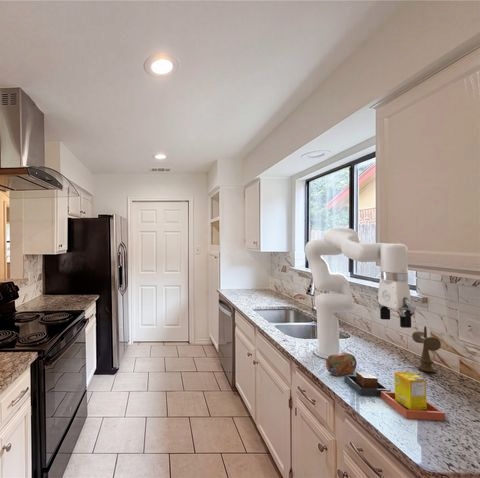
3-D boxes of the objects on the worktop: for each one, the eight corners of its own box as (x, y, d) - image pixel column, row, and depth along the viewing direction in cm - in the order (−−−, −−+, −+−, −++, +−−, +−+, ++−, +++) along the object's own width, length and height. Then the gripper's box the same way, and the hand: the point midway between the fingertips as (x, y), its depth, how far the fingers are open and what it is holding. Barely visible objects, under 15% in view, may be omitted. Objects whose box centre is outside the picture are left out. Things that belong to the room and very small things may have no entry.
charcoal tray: (344, 380, 111) (344, 374, 111) (371, 382, 110) (371, 376, 110) (360, 395, 100) (360, 388, 100) (391, 397, 99) (390, 390, 99)
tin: (331, 377, 114) (330, 357, 114) (324, 373, 117) (324, 354, 117) (357, 372, 118) (357, 353, 118) (350, 369, 121) (350, 350, 121)
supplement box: (410, 401, 96) (409, 371, 96) (427, 411, 90) (426, 379, 90) (394, 401, 95) (393, 371, 95) (410, 412, 89) (410, 380, 89)
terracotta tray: (380, 397, 99) (380, 391, 99) (415, 399, 97) (414, 392, 97) (406, 418, 87) (405, 410, 87) (445, 420, 86) (445, 413, 86)
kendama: (425, 374, 115) (424, 329, 115) (411, 365, 124) (410, 322, 125) (442, 376, 113) (441, 330, 114) (427, 366, 123) (426, 323, 123)
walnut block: (356, 383, 108) (355, 371, 108) (369, 384, 107) (369, 372, 107) (364, 390, 103) (363, 377, 103) (377, 391, 102) (377, 378, 102)
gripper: (367, 274, 107) (368, 316, 107) (401, 280, 90) (402, 330, 90) (387, 274, 106) (388, 316, 106) (425, 280, 89) (427, 331, 89)
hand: (395, 323), depth 98 cm, fingers open, 9 cm apart
